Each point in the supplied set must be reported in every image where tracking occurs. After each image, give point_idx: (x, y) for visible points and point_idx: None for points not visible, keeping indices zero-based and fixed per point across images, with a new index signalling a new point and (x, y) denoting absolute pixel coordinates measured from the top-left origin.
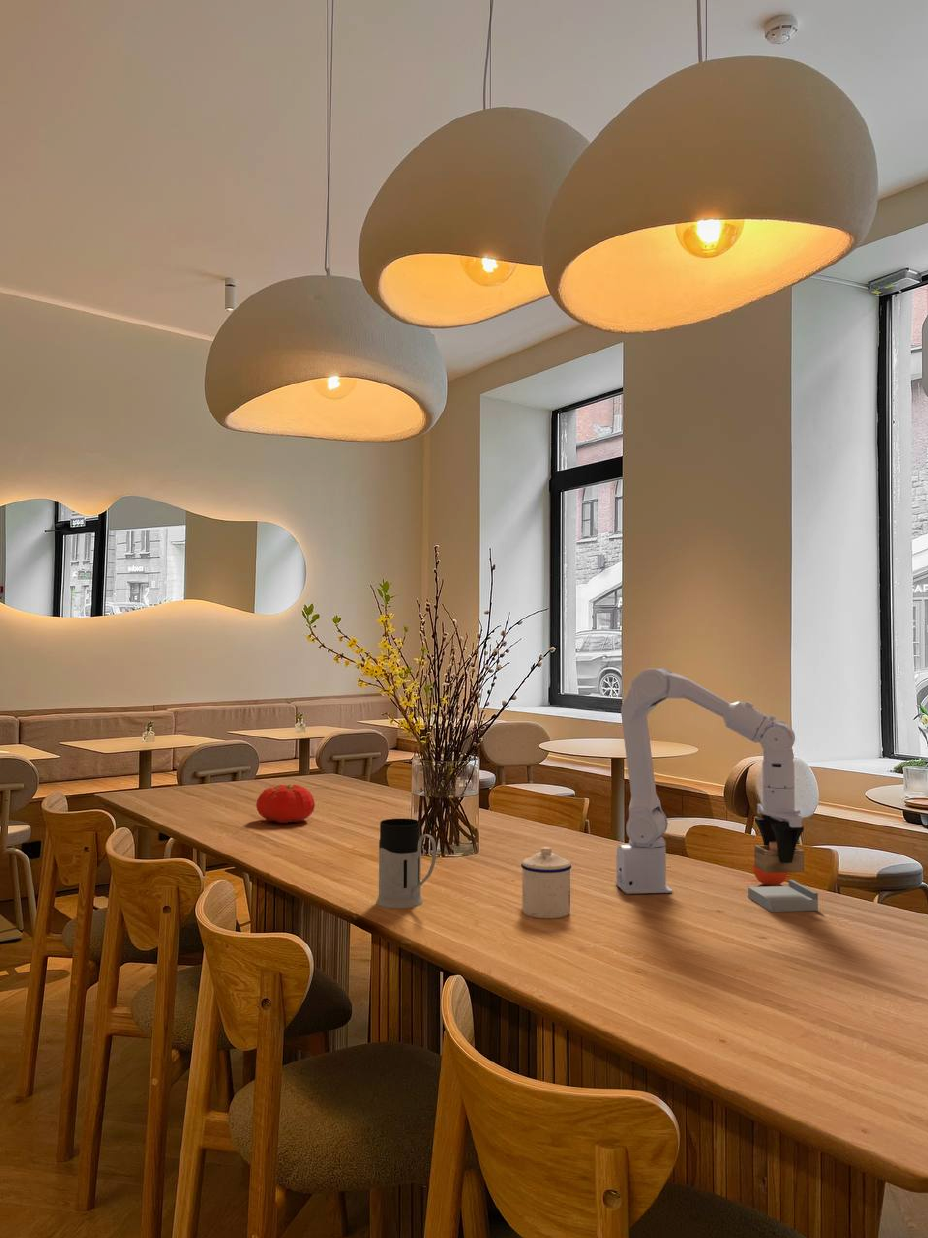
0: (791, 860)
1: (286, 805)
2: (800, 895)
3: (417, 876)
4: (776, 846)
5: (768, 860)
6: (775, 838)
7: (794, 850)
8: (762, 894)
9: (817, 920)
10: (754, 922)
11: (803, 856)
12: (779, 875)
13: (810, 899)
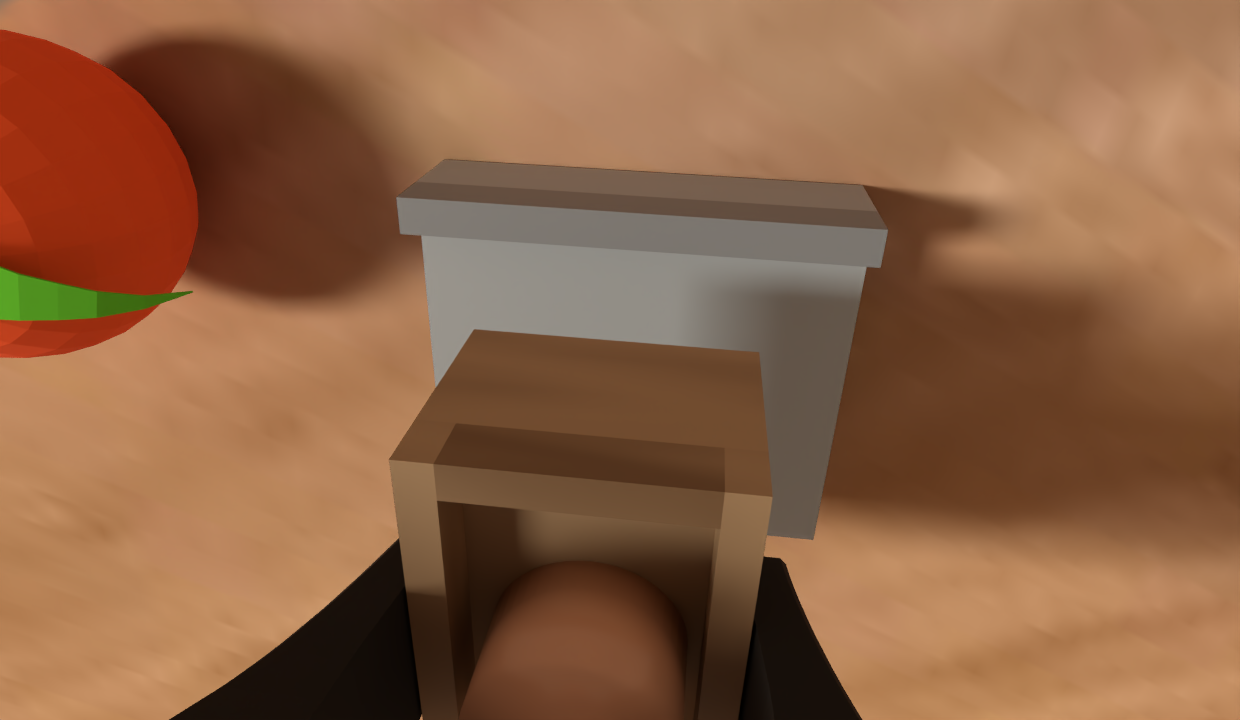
0: (788, 579)
1: None
2: (724, 280)
3: None
4: None
5: None
6: (368, 702)
7: (826, 657)
8: None
9: (1080, 323)
10: (968, 654)
11: (766, 457)
12: (175, 183)
13: (854, 266)
